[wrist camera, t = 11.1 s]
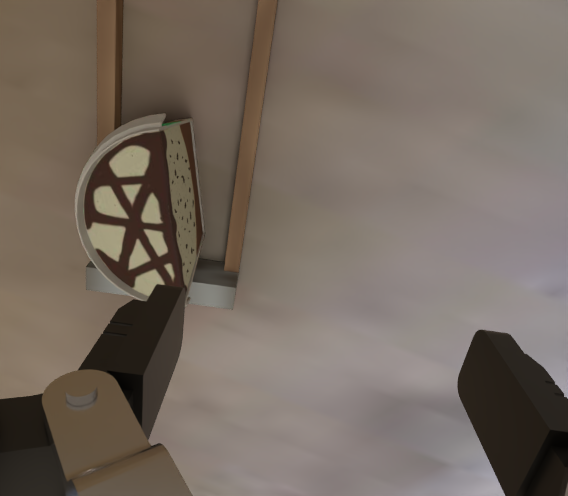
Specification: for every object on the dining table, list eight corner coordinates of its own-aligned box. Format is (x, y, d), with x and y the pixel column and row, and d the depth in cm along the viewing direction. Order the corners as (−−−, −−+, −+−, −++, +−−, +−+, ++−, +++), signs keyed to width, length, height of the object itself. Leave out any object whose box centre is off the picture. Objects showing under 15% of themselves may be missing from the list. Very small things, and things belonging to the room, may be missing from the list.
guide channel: (306, -200, 26) (310, -238, 23) (236, 284, 40) (232, 309, 36) (105, -246, 25) (77, -294, 22) (103, 266, 39) (86, 289, 35)
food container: (105, 99, 33) (40, 122, 24) (190, 96, 33) (157, 118, 24) (133, 252, 38) (89, 318, 29) (207, 249, 38) (185, 315, 29)
